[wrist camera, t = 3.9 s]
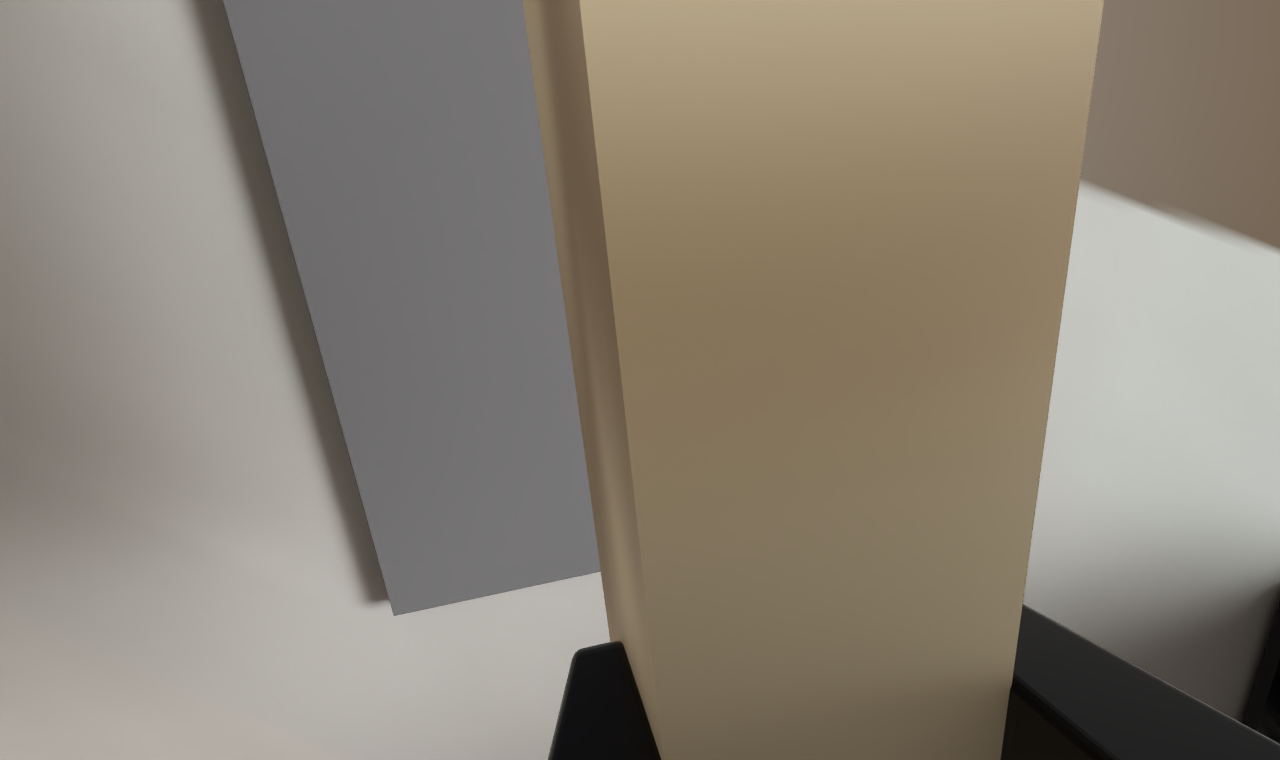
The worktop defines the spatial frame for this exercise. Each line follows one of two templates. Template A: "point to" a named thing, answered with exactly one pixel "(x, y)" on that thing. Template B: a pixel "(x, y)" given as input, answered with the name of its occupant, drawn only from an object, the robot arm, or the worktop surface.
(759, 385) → the stick
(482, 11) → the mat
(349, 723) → the worktop surface
